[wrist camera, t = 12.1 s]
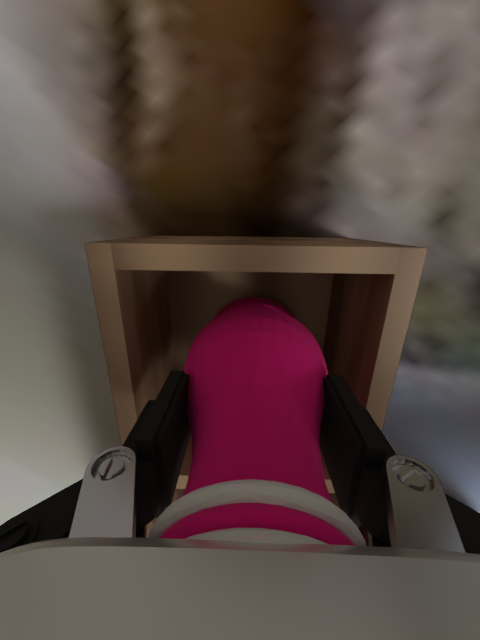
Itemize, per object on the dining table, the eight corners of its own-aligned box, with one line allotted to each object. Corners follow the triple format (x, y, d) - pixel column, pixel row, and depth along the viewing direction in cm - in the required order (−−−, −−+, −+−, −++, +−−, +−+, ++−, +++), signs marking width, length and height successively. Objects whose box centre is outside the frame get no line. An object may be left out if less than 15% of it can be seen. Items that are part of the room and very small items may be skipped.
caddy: (348, 238, 17) (427, 248, 10) (309, 501, 26) (335, 615, 18) (153, 235, 17) (84, 242, 10) (179, 497, 26) (151, 608, 19)
